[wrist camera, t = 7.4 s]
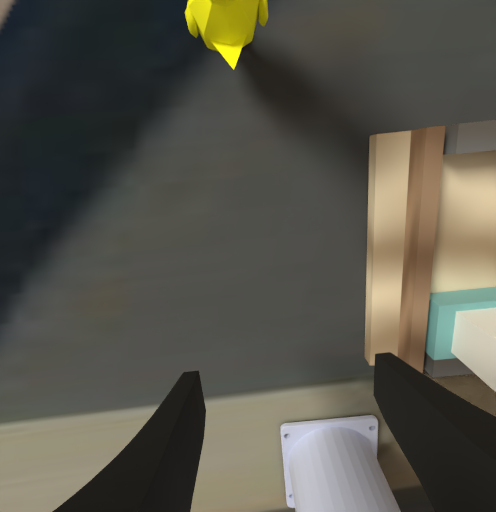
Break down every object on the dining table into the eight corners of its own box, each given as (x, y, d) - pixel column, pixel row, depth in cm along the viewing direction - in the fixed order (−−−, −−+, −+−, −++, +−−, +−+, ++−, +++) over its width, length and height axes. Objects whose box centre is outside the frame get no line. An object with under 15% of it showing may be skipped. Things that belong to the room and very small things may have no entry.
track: (520, 341, 23) (557, 365, 20) (364, 357, 23) (381, 382, 20) (566, 115, 18) (623, 106, 15) (369, 135, 18) (391, 131, 15)
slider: (490, 337, 21) (568, 391, 16) (418, 344, 21) (473, 400, 16) (498, 286, 20) (585, 327, 15) (422, 294, 20) (483, 337, 15)
